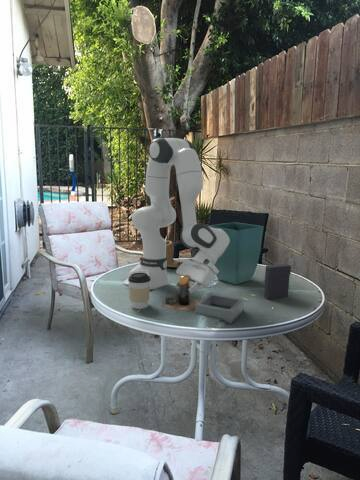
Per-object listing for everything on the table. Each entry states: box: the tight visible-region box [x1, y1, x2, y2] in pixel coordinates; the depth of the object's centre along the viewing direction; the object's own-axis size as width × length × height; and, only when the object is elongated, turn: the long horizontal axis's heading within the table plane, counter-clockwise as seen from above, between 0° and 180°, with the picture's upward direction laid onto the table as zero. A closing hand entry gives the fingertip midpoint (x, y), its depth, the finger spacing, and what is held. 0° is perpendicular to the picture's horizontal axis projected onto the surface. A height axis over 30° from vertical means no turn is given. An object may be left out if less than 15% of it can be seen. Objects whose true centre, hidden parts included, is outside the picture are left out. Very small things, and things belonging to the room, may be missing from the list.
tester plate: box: [161, 291, 202, 313], centre depth 171 cm, size 14×14×4 cm
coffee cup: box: [127, 273, 151, 310], centre depth 167 cm, size 9×9×15 cm
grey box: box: [263, 263, 292, 301], centre depth 184 cm, size 11×4×15 cm, turn 111°
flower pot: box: [208, 221, 264, 285], centre depth 209 cm, size 20×20×28 cm
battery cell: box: [178, 274, 191, 305], centre depth 170 cm, size 4×4×13 cm
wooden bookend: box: [165, 240, 184, 269], centre depth 234 cm, size 15×12×15 cm
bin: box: [194, 293, 245, 324], centre depth 164 cm, size 15×15×5 cm
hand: (183, 288), depth 170 cm, fingers open, 8 cm apart
